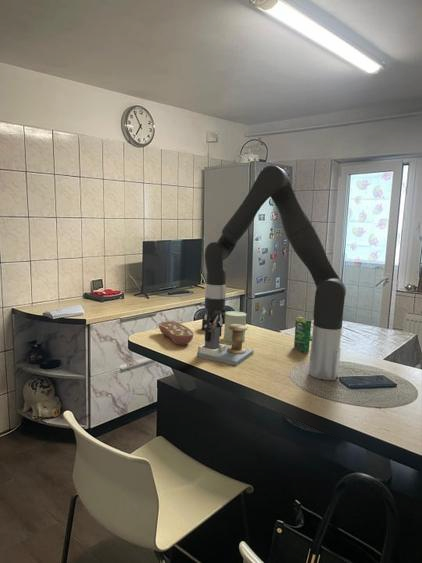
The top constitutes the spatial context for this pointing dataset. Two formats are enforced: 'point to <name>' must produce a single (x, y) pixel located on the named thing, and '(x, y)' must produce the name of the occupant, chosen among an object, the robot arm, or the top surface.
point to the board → (223, 354)
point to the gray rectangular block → (214, 339)
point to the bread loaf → (176, 332)
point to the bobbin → (237, 339)
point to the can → (233, 318)
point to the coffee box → (302, 334)
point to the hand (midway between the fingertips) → (213, 338)
